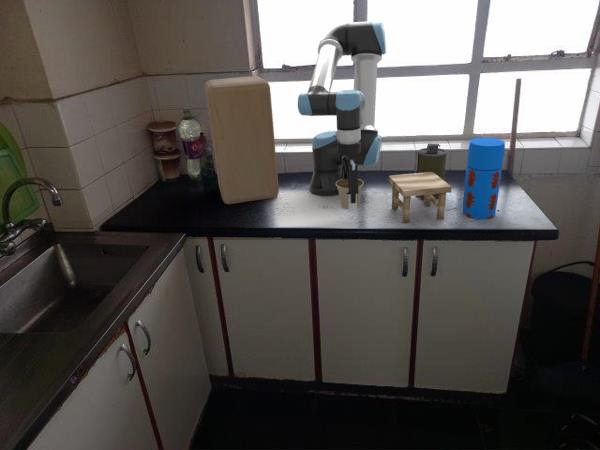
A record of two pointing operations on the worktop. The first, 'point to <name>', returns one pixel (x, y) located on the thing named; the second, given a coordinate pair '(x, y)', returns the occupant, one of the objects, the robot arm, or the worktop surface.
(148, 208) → the worktop surface
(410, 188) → the footstool
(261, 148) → the block
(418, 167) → the canister
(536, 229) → the worktop surface
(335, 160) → the robot arm
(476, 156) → the thermos
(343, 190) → the flower pot
